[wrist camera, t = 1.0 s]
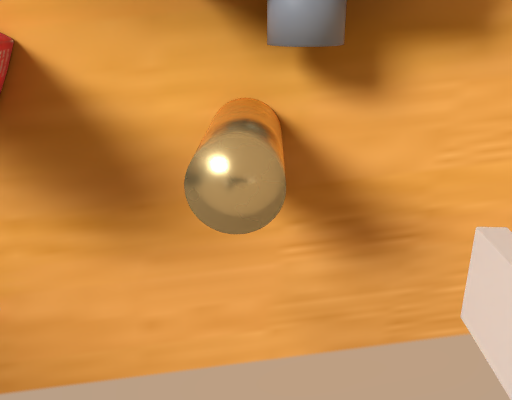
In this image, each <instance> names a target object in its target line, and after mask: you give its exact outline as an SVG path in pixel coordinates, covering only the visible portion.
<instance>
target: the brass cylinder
mask: <svg viewBox="0 0 512 400" xmlns="http://www.w3.org/2000/svg"><path fill="white" fill-rule="evenodd" d="M184 188H185V195H186V199H187V201H188V204H189V206H190V208H191V210H192V211H193V213H194V214H195V215H196V216H197V217H198V218H199V219H200V220H201V221H202V222H203V223H204V224H206V225H207V226H209V227H211V228H212V229H215V230H217V231H220V232H223V233H228V234H245V233H250V232H253V231H256V230H258V229H261V228H262V227H264V226H266V225H267V224H268V223H269V222H271V221H272V220H273V219H274V218H275V217H276V215H277V214H278V213H279V211H280V209H281V207H282V205H283V203H284V199H285V195H286V178H285V167H284V155H283V144H282V132H281V125H280V122H279V119H278V117H277V115H276V114H275V112H274V111H273V110H272V109H271V108H270V107H269V106H268V105H266V104H265V103H263V102H261V101H259V100H256V99H251V98H240V99H236V100H233V101H230V102H228V103H227V104H225V105H224V106H223V107H222V108H220V110H219V111H218V112H217V114H216V115H215V117H214V119H213V121H212V122H211V124H210V126H209V128H208V130H207V132H206V134H205V136H204V138H203V140H202V141H201V143H200V145H199V147H198V149H197V151H196V153H195V155H194V157H193V158H192V160H191V162H190V164H189V166H188V169H187V172H186V175H185V182H184Z"/></svg>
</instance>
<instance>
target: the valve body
mask: <svg viewBox="0 0 512 400" xmlns="http://www.w3.org/2000/svg"><path fill="white" fill-rule="evenodd" d="M346 2H347V0H267V44H268V45H273V46H292V47H320V46H338V45H344V36H345V19H346Z"/></svg>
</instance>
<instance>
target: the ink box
mask: <svg viewBox="0 0 512 400" xmlns="http://www.w3.org/2000/svg"><path fill="white" fill-rule="evenodd" d="M13 43H14V41H13V40H12V39H11V38H10V37H8V36H6V35H4V34H2V33H0V93H1V90H2V87H3V83H4V80H5V76H6V73H7V69H8V65H9V61H10V57H11V52H12V47H13Z"/></svg>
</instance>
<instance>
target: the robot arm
mask: <svg viewBox="0 0 512 400" xmlns="http://www.w3.org/2000/svg"><path fill="white" fill-rule="evenodd" d="M461 319H462V320H463V322H464V323H465V325H466V327H467V328H468V330H469V332H470V333H471V335H472V337H473V338H474V340H475V342H476V343H477V345H478V347H479V348H480V350H481V352H482V353H483V355H484V356H485V358H486V360H487V361H488V363H489V365H490V366H491V368H492V370H493V371H494V373H495V374H496V376H497V378H498V380H499V381H500V383H501V385H502V386H503V388H504V390H505V391H506V393H507V395H508V396H509V398H510V399H511V400H512V232H511V231H510V230H509V229H508V228H507V227H476V231H475V237H474V243H473V248H472V254H471V260H470V265H469V271H468V277H467V282H466V288H465V294H464V300H463V305H462V311H461Z"/></svg>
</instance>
